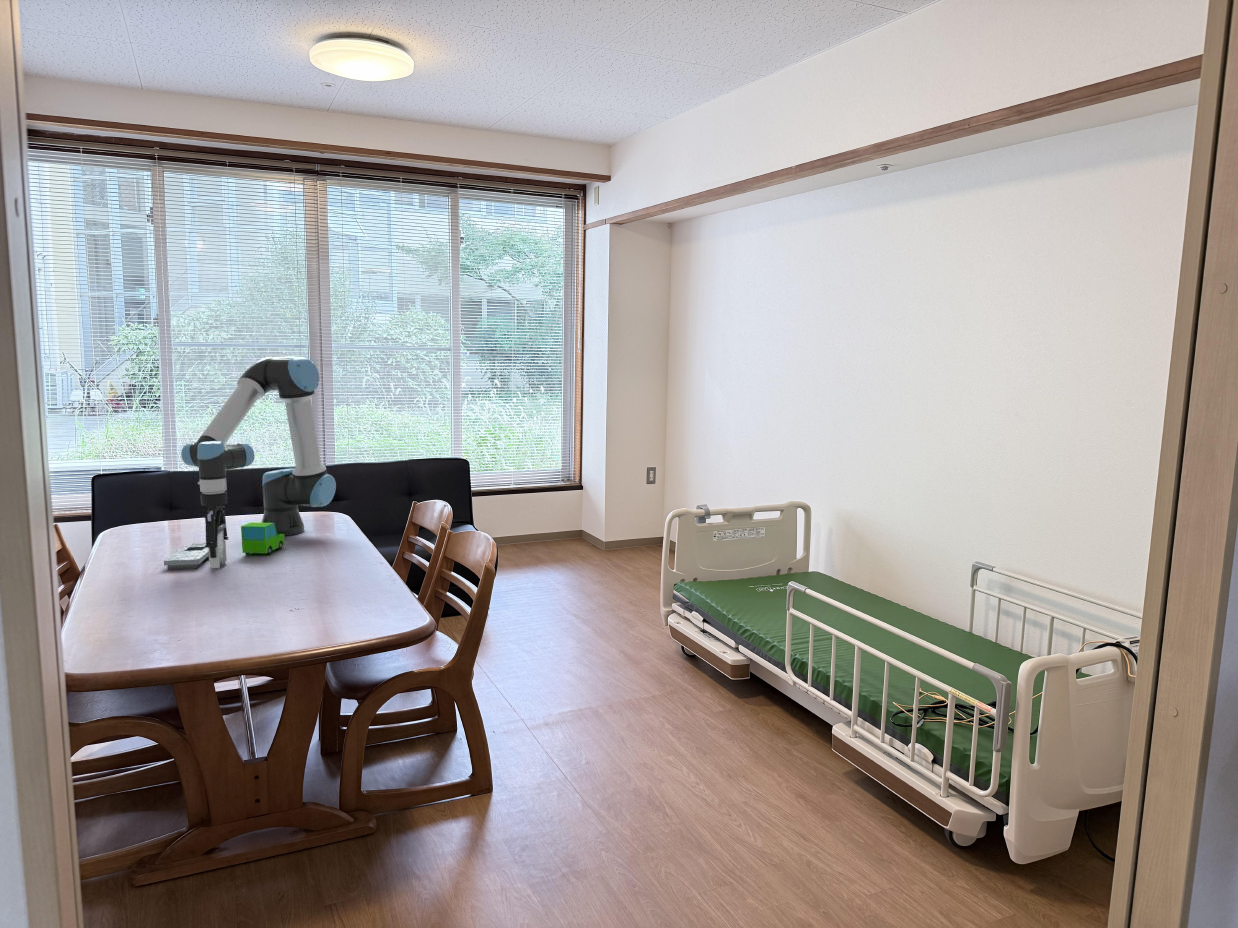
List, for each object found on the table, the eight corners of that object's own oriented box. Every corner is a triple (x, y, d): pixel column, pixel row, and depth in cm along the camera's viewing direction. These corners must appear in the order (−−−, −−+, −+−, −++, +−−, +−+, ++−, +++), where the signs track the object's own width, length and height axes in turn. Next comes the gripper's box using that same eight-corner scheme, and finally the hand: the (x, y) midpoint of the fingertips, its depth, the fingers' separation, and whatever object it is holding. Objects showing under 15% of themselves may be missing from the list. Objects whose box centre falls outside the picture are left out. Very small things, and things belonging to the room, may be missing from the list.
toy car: (289, 547, 292) (287, 518, 290) (269, 556, 279) (267, 526, 277) (260, 546, 293) (258, 518, 291) (239, 556, 280) (237, 526, 278)
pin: (230, 563, 270) (227, 523, 268) (225, 568, 264) (223, 526, 262) (211, 564, 268) (208, 523, 267) (206, 569, 263) (203, 527, 261)
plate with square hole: (224, 546, 293) (224, 537, 292) (199, 568, 263) (198, 559, 263) (193, 547, 291) (192, 539, 290) (164, 570, 262) (163, 560, 261)
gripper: (209, 486, 272) (214, 556, 275) (190, 498, 252) (195, 573, 256) (235, 486, 274) (239, 555, 277) (217, 497, 254) (222, 572, 257)
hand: (218, 564), depth 266 cm, fingers open, 8 cm apart
